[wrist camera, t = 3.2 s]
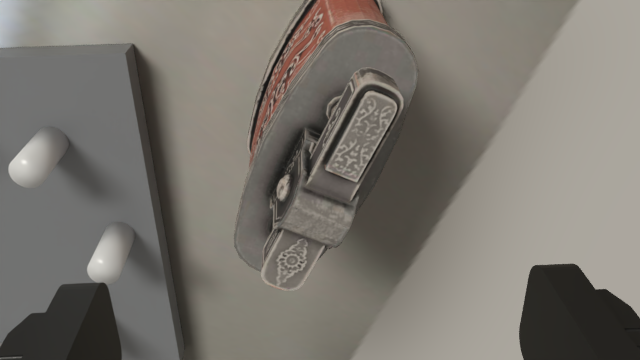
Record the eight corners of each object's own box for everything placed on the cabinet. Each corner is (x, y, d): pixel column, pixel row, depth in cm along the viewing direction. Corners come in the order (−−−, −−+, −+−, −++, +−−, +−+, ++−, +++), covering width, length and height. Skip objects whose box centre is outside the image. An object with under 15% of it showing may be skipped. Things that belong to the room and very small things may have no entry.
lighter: (306, 177, 25) (316, 349, 16) (230, 147, 24) (198, 311, 16) (400, -3, 22) (475, 94, 13) (315, -45, 21) (335, 28, 12)
